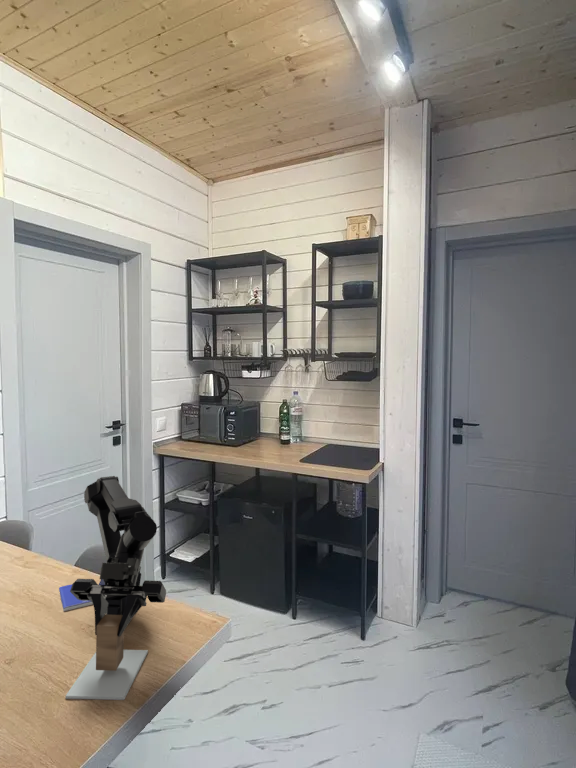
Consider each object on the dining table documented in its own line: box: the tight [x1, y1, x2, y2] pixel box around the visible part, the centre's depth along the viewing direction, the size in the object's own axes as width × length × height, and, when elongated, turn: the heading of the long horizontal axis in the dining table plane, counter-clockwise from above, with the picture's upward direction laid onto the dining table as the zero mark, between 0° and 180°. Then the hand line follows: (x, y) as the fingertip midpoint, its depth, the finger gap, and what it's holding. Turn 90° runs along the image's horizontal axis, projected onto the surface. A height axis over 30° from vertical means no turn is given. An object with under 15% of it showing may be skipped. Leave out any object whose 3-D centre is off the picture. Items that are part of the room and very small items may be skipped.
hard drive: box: [58, 583, 93, 612], centre depth 119 cm, size 2×8×12 cm
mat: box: [65, 649, 149, 701], centre depth 89 cm, size 14×11×1 cm
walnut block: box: [95, 614, 125, 671], centre depth 89 cm, size 4×4×9 cm
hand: (107, 635), depth 88 cm, fingers closed on walnut block, 4 cm apart
